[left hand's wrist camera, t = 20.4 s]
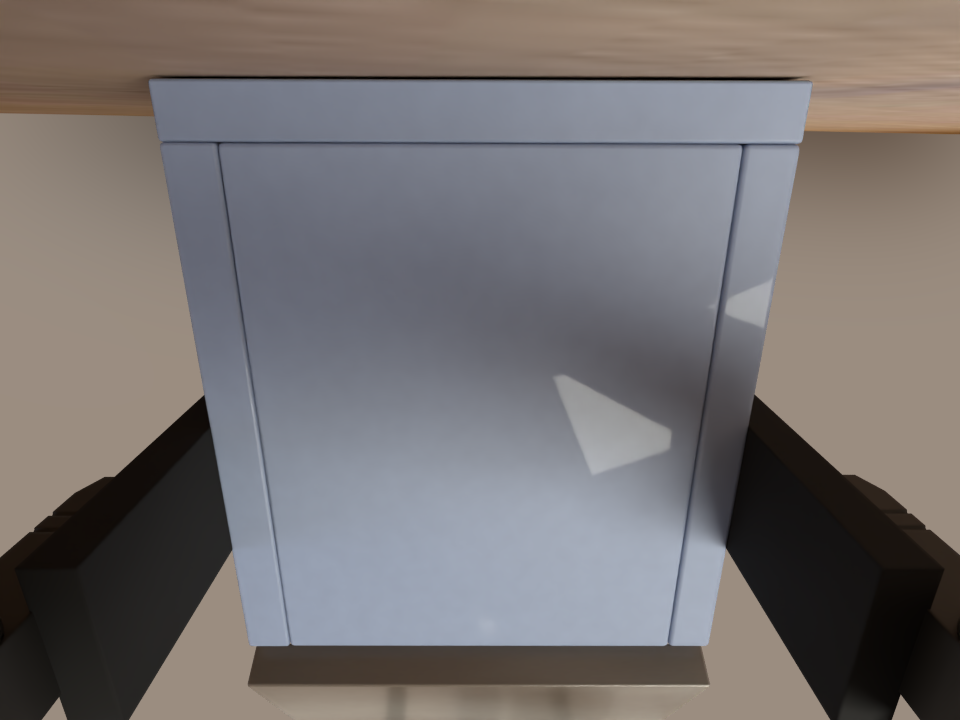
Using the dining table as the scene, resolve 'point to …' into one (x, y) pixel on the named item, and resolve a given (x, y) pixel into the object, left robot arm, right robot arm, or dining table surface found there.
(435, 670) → the lid
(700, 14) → the dining table surface
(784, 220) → the chest
